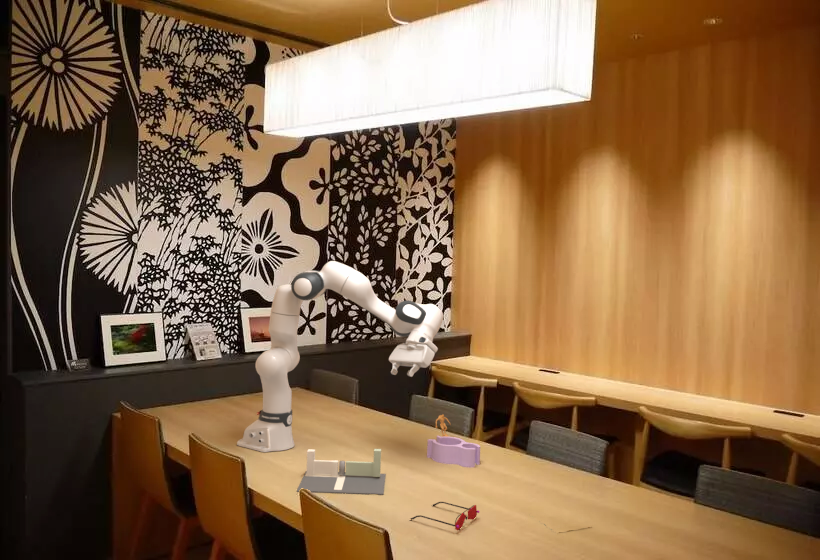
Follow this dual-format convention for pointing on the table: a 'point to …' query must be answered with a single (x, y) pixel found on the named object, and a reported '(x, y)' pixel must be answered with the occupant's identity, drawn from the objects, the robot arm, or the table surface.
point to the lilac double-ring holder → (453, 451)
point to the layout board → (343, 484)
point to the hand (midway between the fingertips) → (401, 374)
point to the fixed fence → (320, 465)
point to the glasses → (471, 515)
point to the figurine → (442, 425)
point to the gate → (362, 466)
